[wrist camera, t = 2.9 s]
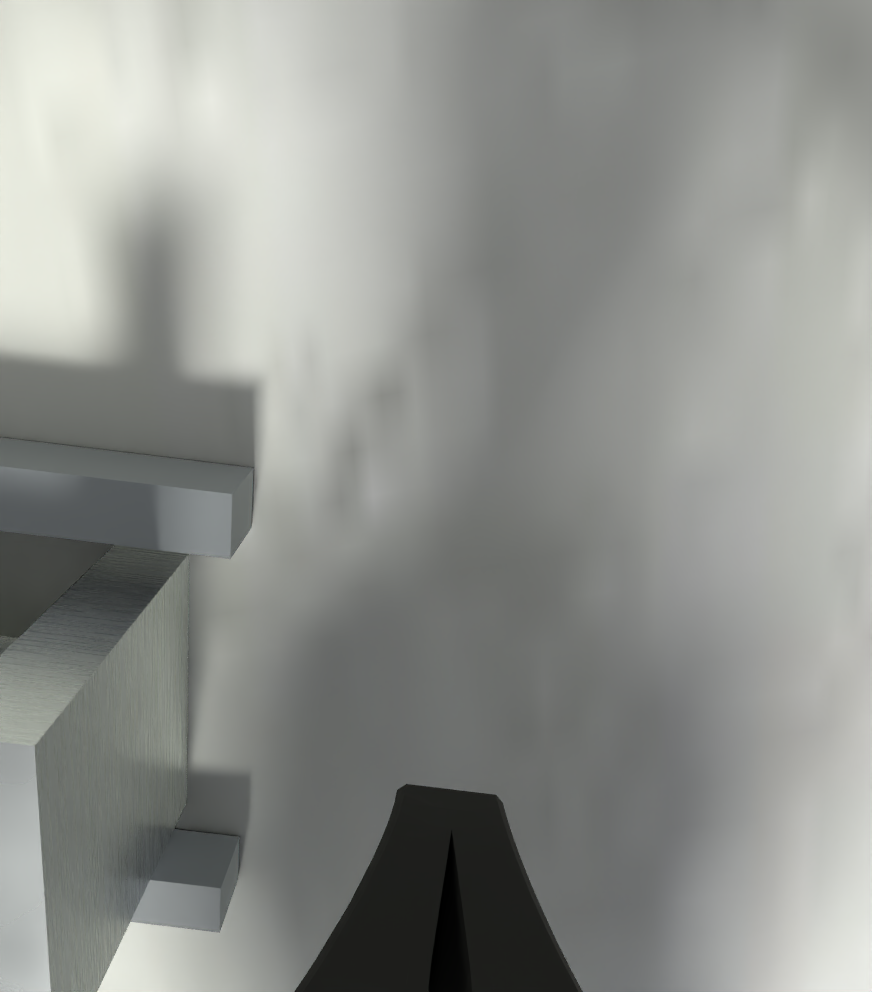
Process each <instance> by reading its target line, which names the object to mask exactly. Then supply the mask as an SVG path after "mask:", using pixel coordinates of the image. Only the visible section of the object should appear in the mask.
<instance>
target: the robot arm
mask: <svg viewBox="0 0 872 992" xmlns="http://www.w3.org/2000/svg"><path fill="white" fill-rule="evenodd" d="M295 992H582V990H581V988H580V986H579V984H578V982H577V980H576V978H575V977H574V975H573V973H572V971H571V969H570V967H569V965H568V963H567V961H566V959H565V957H564V955H563V953H562V951H561V949H560V947H559V945H558V943H557V941H556V939H555V937H554V935H553V932H552V930H551V928H550V926H549V924H548V921H547V919H546V917H545V915H544V913H543V911H542V908H541V906H540V904H539V902H538V900H537V897H536V895H535V893H534V890H533V888H532V886H531V883H530V881H529V878H528V876H527V873H526V871H525V868H524V866H523V863H522V861H521V858H520V855H519V853H518V850H517V847H516V844H515V842H514V839H513V836H512V833H511V830H510V827H509V824H508V820H507V817H506V814H505V810H504V806H503V803H502V802H501V800H500V799H499V798H498V797H497V795H492V794H484V793H476V792H467V791H459V790H451V789H442V788H434V787H426V786H417V785H409V784H406V785H404V786H403V787H401V788H400V789H398V790H397V793H396V798H395V803H394V806H393V809H392V813H391V816H390V819H389V821H388V824H387V827H386V829H385V832H384V834H383V837H382V839H381V841H380V843H379V846H378V848H377V850H376V852H375V855H374V857H373V859H372V861H371V863H370V865H369V867H368V869H367V871H366V873H365V875H364V877H363V879H362V881H361V882H360V884H359V886H358V888H357V890H356V892H355V894H354V896H353V898H352V900H351V902H350V904H349V905H348V907H347V909H346V911H345V912H344V914H343V916H342V917H341V919H340V921H339V922H338V924H337V926H336V927H335V929H334V931H333V932H332V934H331V936H330V937H329V939H328V940H327V942H326V944H325V945H324V947H323V949H322V950H321V952H320V954H319V955H318V957H317V959H316V960H315V962H314V963H313V965H312V966H311V968H310V969H309V971H308V972H307V974H306V975H305V977H304V978H303V980H302V981H301V983H300V984H299V986H298V987H297V989H296V990H295Z"/></svg>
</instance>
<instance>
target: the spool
mask: <svg viewBox="0 0 872 992" xmlns="http://www.w3.org/2000/svg"><path fill="white" fill-rule="evenodd" d="M188 636H189V554H187V553H179V552H170V551H162V550H154V549H145V548H137V547H129V546H121V545H114V546H113V547H112V548H111V549H110V550H109V551H108V552H107V553H106V554H105V555H104V556H103V557H102V558H101V559H100V560H99V561H98V562H96V563H95V564H94V565H93V566H92V567H91V568H90V569H89V570H88V571H87V572H86V573H85V574H84V575H83V576H82V577H81V578H80V579H79V580H78V581H77V582H76V583H75V584H74V585H73V586H72V587H71V588H69V589H68V590H67V591H66V592H65V593H64V594H63V595H62V596H61V597H60V598H59V599H58V600H57V601H56V602H55V603H54V604H53V605H52V606H51V607H50V608H49V609H48V610H47V611H46V612H45V613H44V614H42V615H41V616H40V617H39V618H38V619H37V620H36V621H35V622H34V623H33V624H32V625H31V626H30V627H29V628H28V629H27V630H26V631H25V632H24V633H23V634H22V635H21V636H20V637H19V638H14V637H6V636H0V992H97V991H98V989H99V987H100V985H101V982H102V980H103V978H104V976H105V974H106V972H107V970H108V968H109V966H110V963H111V961H112V959H113V957H114V955H115V953H116V951H117V949H118V947H119V944H120V942H121V940H122V938H123V936H124V934H125V932H126V930H127V928H128V925H129V923H130V921H131V919H132V917H133V915H134V913H135V911H136V909H137V906H138V904H139V902H140V900H141V898H142V896H143V894H144V892H145V890H146V887H147V885H148V883H149V881H150V879H151V877H152V875H153V873H154V871H155V868H156V866H157V864H158V862H159V860H160V858H161V856H162V854H163V852H164V849H165V847H166V845H167V843H168V841H169V839H170V837H171V835H172V833H173V830H174V828H175V826H176V824H177V822H178V820H179V818H180V816H181V814H182V811H183V809H184V807H185V805H186V803H187V736H188Z"/></svg>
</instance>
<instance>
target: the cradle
mask: <svg viewBox="0 0 872 992" xmlns="http://www.w3.org/2000/svg"><path fill="white" fill-rule="evenodd" d="M253 472H254V468H251V467H243V466H234V465H226V464H218V463H210V462H201V461H193V460H185V459H176V458H168V457H160V456H152V455H143V454H135V453H127V452H118V451H110V450H102V449H93V448H85V447H77V446H69V445H60V444H52V443H44V442H35V441H27V440H19V439H11V438H2V437H0V531H4V532H13V533H21V534H29V535H38V536H46V537H54V538H62V539H71V540H79V541H87V542H96V543H104V544H112V545H121V546H129V547H137V548H145V549H154V550H162V551H170V552H179V553H187V554H195V555H203V556H212V557H220V558H228V559H231V557H232V556H233V554H234V553H235V551H236V550H237V548H238V547H239V545H240V544H241V542H242V541H243V539H244V538H245V536H246V535H247V533H248V532H249V530H250V529H251V524H252V498H253ZM239 838H240V837H237V836H228V835H220V834H212V833H203V832H195V831H187V830H178V829H174V830H173V833H172V835H171V837H170V839H169V841H168V843H167V845H166V847H165V849H164V852H163V854H162V856H161V858H160V860H159V862H158V864H157V866H156V868H155V871H154V873H153V875H152V877H151V879H150V881H149V883H148V885H147V887H146V890H145V892H144V894H143V896H142V898H141V900H140V902H139V904H138V906H137V909H136V911H135V913H134V915H133V917H132V919H131V921H130V922H138V923H146V924H154V925H162V926H171V927H179V928H187V929H196V930H204V931H212V932H220V929H221V927H222V924H223V921H224V918H225V915H226V912H227V909H228V906H229V903H230V900H231V898H232V895H233V892H234V889H235V886H236V883H237V880H238V865H239Z"/></svg>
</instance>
